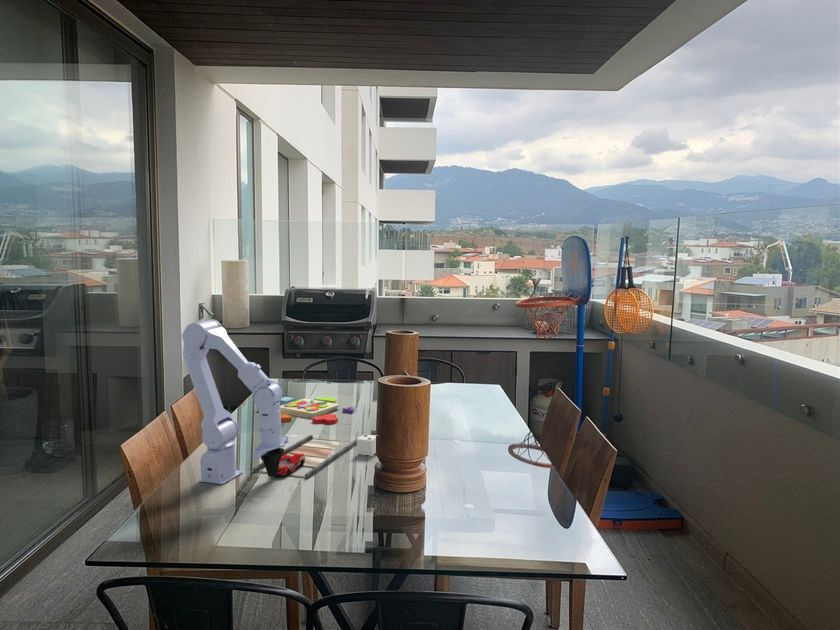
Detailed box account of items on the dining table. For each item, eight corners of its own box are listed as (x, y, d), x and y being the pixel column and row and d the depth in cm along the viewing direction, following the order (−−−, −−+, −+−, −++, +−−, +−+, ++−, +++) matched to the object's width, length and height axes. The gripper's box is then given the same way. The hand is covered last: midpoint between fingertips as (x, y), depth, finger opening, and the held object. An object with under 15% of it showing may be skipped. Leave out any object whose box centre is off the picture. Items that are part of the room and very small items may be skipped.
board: (308, 478, 173) (308, 474, 172) (252, 471, 179) (252, 467, 178) (359, 443, 203) (358, 439, 203) (310, 438, 209) (310, 434, 209)
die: (372, 456, 190) (371, 440, 189) (357, 454, 192) (356, 438, 191) (378, 451, 195) (378, 435, 194) (363, 449, 196) (363, 433, 196)
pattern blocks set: (240, 420, 235) (240, 412, 235) (286, 399, 267) (286, 392, 267) (332, 427, 224) (332, 419, 223) (368, 404, 255) (368, 397, 255)
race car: (284, 478, 173) (284, 464, 172) (267, 476, 174) (267, 463, 174) (308, 462, 185) (308, 449, 184) (292, 461, 187) (291, 448, 186)
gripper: (268, 436, 162) (270, 486, 164) (296, 421, 176) (298, 468, 177) (245, 434, 165) (247, 483, 166) (275, 419, 178) (277, 465, 180)
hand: (272, 475), depth 172 cm, fingers closed
